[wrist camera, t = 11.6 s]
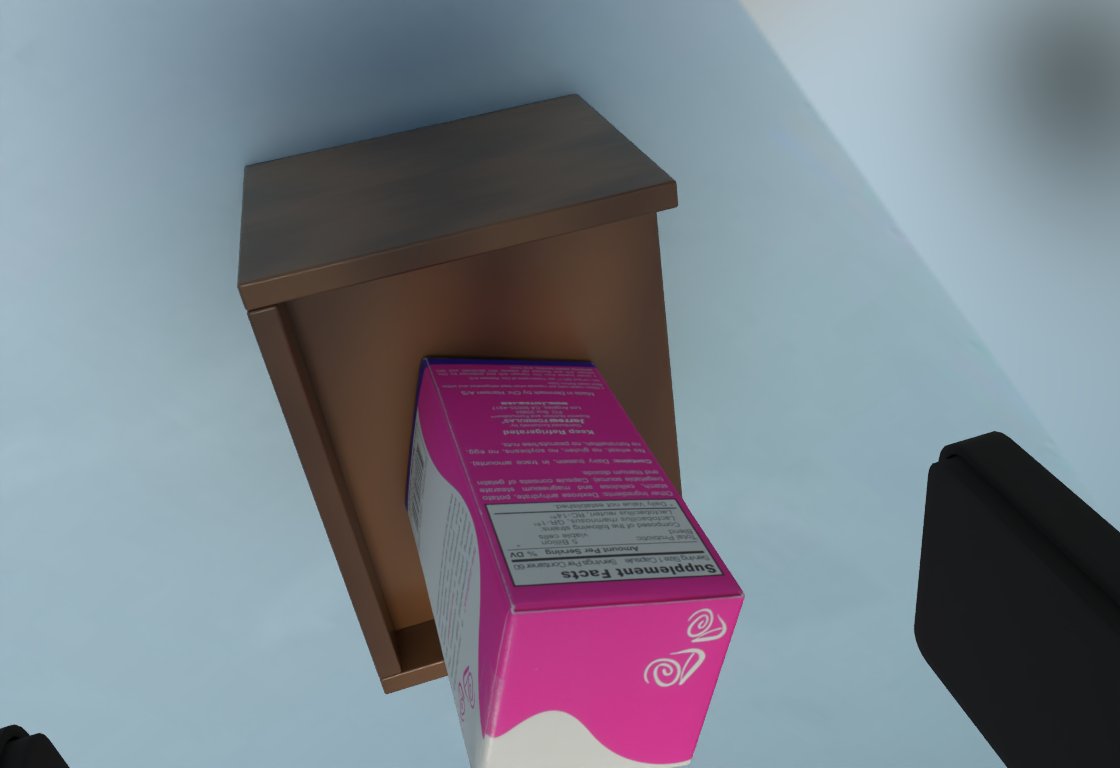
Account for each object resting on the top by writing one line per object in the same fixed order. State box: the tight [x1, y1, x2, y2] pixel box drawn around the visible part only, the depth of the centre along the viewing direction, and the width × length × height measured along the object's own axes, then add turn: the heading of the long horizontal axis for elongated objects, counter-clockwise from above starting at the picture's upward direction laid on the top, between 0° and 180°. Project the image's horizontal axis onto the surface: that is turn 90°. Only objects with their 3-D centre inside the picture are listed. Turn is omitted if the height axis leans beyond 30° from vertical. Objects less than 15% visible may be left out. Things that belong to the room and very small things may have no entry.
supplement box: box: [405, 357, 745, 768], centre depth 26 cm, size 6×6×12 cm
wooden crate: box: [237, 94, 682, 694], centre depth 34 cm, size 12×16×10 cm
